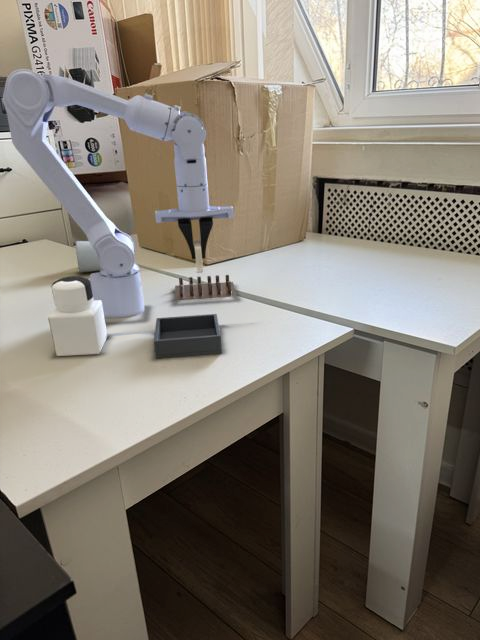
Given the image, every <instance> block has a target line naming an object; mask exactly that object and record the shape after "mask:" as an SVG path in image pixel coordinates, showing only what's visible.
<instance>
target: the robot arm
mask: <svg viewBox="0 0 480 640" xmlns="http://www.w3.org/2000/svg"><path fill="white" fill-rule="evenodd" d="M4 84H5V85H4V90H3V95H2V103H3V106H4V109H5V112H6V117H7V122H8V127H9V133H10V138H11V143H12V144H13V146H14V148H15V149H16V151H17V152H18V153H19V155H21V157H22V158H23V160H25V162H26V163H27V165H28V166H30V168H31V169H32V170H33V172H34V173H35V174H36V175H37V177H38V178H39V179H40V180H41V181H42V183H44V186H46V187H47V189H48V190H49V191H50V192H51V194H52V196H54V197H55V198H56V200H57V201H58V202H59V203H60V205H61V206H62V207H63V208H64V210H65V211H66V212H67V214H69V216H71V218H72V220H73V221H74V222H75V223H76V224H77V226H78V227H79V228H80V229H81V230H82V232H83V234H85V236H86V238H87V241H89V242H90V244H91V246H92V248H93V249H94V250H95V251H96V253H97V255H98V258H99V263H100V265H101V267H102V268H101V270H100V271H97V272H93V273H90V275H89V280H90V282H91V288H92V294H93V299H94V300H101V301H102V307H103V313H104V319H105V318H130V317H134V316H137V315H140V314H142V313H143V312H144V311H145V301H144V294H143V286H142V278H141V272H140V271H141V270H140V265H138V264H136V257H135V253H136V246H135V242H134V240H133V239H132V237H131V236H130V235H129V234H128V233H126V232H124V231H121V230H120V229H119V228H118V227H117V226H116V224H115V223H114V222H113V221H111V220H110V219H109V218H108V217H107V216H106V215H105V213H104V212H103V210H101V208H100V207H99V206H98V204H97V203H96V202H95V201H94V199H93V198H92V197H91V195H90V194H89V193H88V192H87V190H86V189H85V188H84V187H83V185H82V183H80V181H79V180H78V178H77V177H76V176H75V175H74V174H73V172H72V170H70V168H69V167H68V166H67V165H66V163H65V162H64V161H63V159H62V158H61V157H60V155H59V154H58V153H57V152H56V150H55V149H54V148H53V147H52V145H51V144H50V142H49V141H48V140H47V133H48V128H49V119H50V117H51V115H52V113H53V111H54V109H55V107H56V108H65V107H69V106H70V107H71V106H75V105H77V106H80V107H83V108H87V109H89V110H93V111H97V112H99V113H103V114H105V115H109V116H113V117H116V118H118V119H123V120H124V122H125V123H126V126H127V128H129V130H130V131H132V132H135V133H138V134H141V135H144V136H147V137H150V138H152V139H156V140H158V141H162V142H169V141H172V142H173V143H174V144H173V152H174V159H173V163H174V165H173V166H174V174H175V185H176V193H177V203H178V204H177V205H178V207H177V208H171V209H163V210H155V211H154V216H155V223H156V224H162V223H167V222H177V226H178V228H179V230H180V232H181V233H182V235H183V238H184V240H185V242H186V243H187V246H188V248H189V252H190V256H191V259H192V260H195V259H196V258H195V249H194V235H193V226H192V221H198V224H199V225H198V227H199V237H200V243H201V252H202V260H203V259H206V252H207V245H208V240H209V237H210V234H211V232H212V230H213V227H214V226H213V225H214V220H216V219H218V220H219V219H234V218H235V214H234V212H235V211H234V207H233V206H232V205H230V206H210V198H209V196H210V195H209V184H208V181H209V180H208V168H207V158H206V157H205V153H206V149H205V144H204V143H205V142H206V138H207V132H208V131H207V130H206V127H205V124H204V122H203V121H202V119H201V118H200V117H199V116H198V115H196V114H194V113H190V112H189V111H181V106H179V105H176V104H174V105H173V106H170V105H168V104H165V103H162V102H159V101H157V100H153V98H154V97H153V95H150V94H148V93H145V94H144V96H142V95H140V94H136V95H135V96H132V97H131V98H129V99H128V100H127V99H125V98H122V97H120V96H117V95H114V94H111V93H110V92H106V91H104V90H101V89H98V88H96V87H93V86H91V85H88V84H85V83H82V82H80V81H78V80H75V79H73V78H68V77H64V76H60V75H56V74H55V75H54V74H50V73H44V72H41V73H38V72H36V71H34V70H32V69H28V68H19V69H16V70H13V71H12V72H11V73H10V74H8V76H7V77H6V79H5V83H4Z"/></svg>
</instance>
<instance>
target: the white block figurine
mask: <svg viewBox="0 0 480 640" xmlns="http://www.w3.org/2000/svg"><path fill="white" fill-rule="evenodd" d="M50 287H51V291H52V297H53V302H54V306H55V308H54V309H53V311H52V312H51V313H50V314H49V315H48V318H47V320H48V323H49V328H50V333H51V338H52V343H53V346H54V351H55V355H56V356H57V357H67V356H87V355H88V356H89V355H99V354H101V351H102V349H103V347H104V345H105V343H106V341H107V338H108V331H107V325H106V319H105V318H104V313H103V307H102V301H101V300H94V299H93V294H92V288H91V282H90V279H88V278H87V277H84V276H81V275H80V276H79V275H71V276H65V277H61V278H59V279H57V280H55V281H53V283H51V286H50Z"/></svg>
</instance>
